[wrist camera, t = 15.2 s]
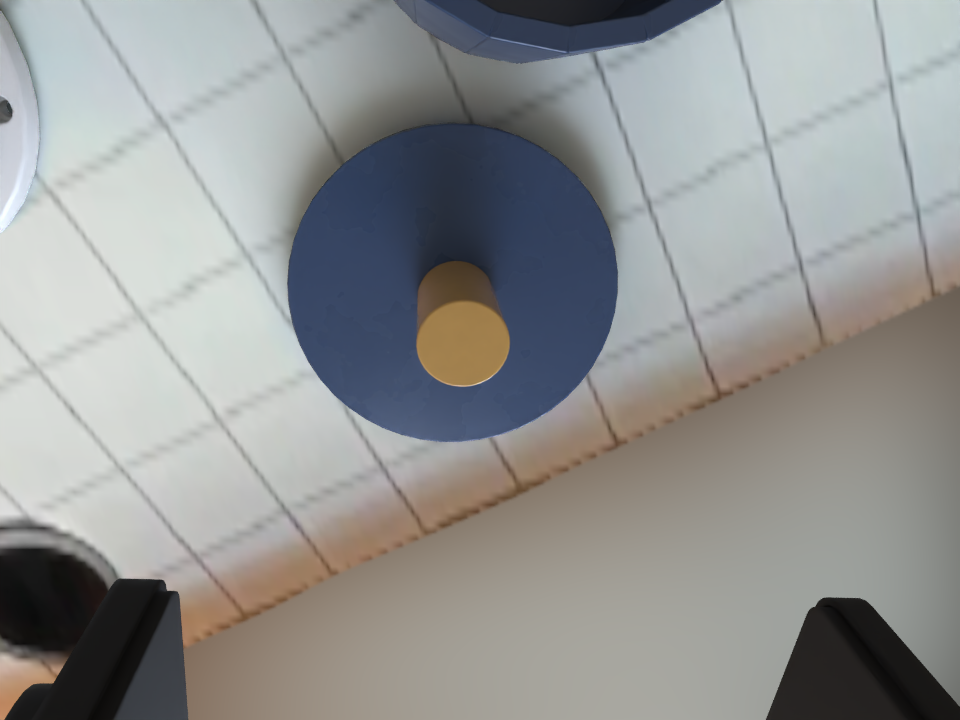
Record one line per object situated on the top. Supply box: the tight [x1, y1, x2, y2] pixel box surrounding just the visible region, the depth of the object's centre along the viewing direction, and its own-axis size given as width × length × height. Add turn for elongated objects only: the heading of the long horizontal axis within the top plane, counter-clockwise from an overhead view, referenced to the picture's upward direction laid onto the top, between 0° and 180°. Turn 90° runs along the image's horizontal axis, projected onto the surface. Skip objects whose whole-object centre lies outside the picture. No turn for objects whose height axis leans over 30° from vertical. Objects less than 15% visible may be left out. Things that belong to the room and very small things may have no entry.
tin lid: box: [287, 123, 618, 442], centre depth 24 cm, size 13×13×6 cm
